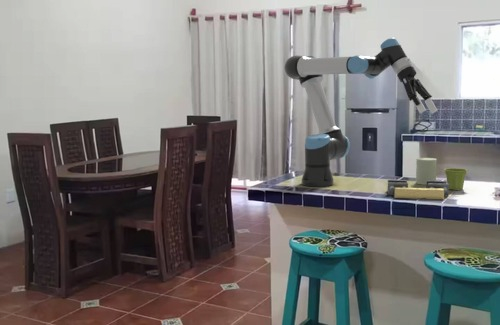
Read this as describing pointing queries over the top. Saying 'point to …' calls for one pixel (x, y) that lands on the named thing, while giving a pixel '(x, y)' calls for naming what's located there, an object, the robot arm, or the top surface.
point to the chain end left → (396, 185)
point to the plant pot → (455, 178)
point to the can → (425, 170)
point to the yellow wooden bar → (419, 193)
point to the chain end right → (438, 186)
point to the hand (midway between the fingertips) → (429, 112)
